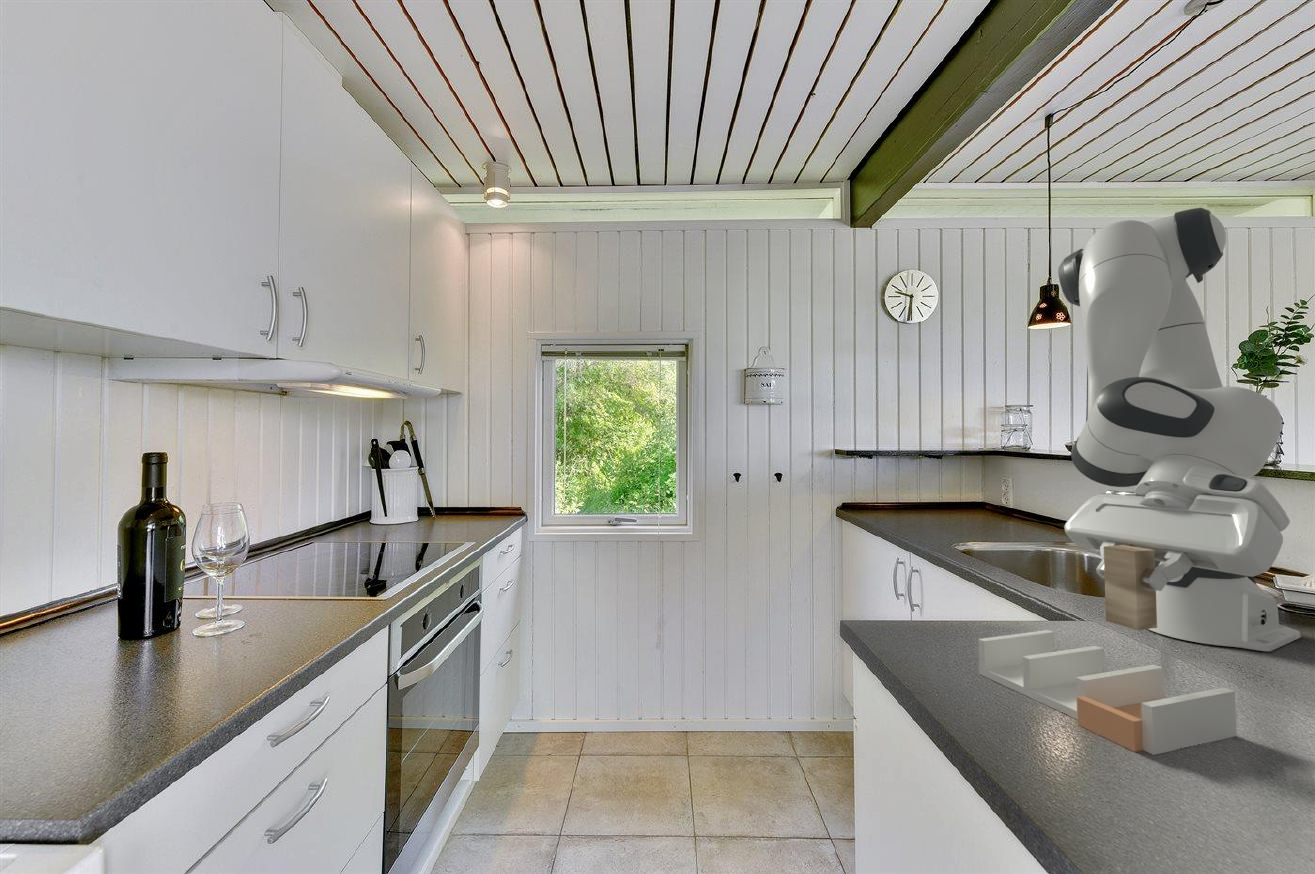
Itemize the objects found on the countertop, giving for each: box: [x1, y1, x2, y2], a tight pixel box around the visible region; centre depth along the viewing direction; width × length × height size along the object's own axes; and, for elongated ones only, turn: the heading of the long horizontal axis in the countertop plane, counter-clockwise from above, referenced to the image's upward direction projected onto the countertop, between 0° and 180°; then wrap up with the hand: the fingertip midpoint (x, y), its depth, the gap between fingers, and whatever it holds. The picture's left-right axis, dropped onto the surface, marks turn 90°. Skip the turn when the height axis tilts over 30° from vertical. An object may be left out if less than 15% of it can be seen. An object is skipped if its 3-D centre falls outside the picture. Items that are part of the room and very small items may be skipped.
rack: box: [977, 629, 1238, 756], centre depth 70 cm, size 14×22×5 cm, turn 16°
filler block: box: [1104, 545, 1157, 631], centre depth 65 cm, size 3×4×9 cm
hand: (1126, 581), depth 65 cm, fingers closed on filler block, 3 cm apart
